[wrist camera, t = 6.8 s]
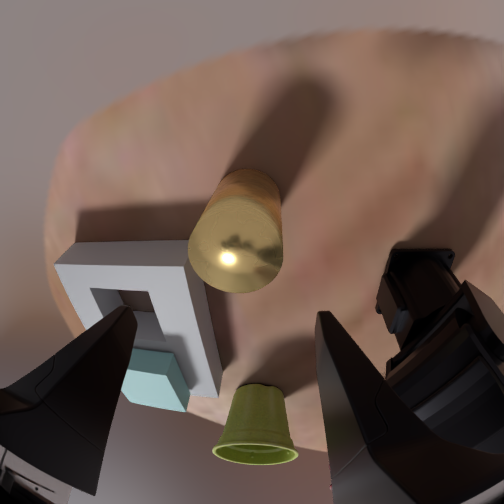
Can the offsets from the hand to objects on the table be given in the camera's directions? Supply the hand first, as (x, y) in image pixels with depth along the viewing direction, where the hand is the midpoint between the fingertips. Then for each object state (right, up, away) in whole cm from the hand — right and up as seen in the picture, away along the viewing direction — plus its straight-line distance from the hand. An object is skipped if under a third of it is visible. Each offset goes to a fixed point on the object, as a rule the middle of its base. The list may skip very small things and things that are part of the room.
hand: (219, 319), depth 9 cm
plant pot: (+2, -15, +23) cm, 27 cm away
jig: (-9, -4, +16) cm, 19 cm away
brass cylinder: (+1, +6, +9) cm, 11 cm away
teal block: (-9, -9, +15) cm, 20 cm away
